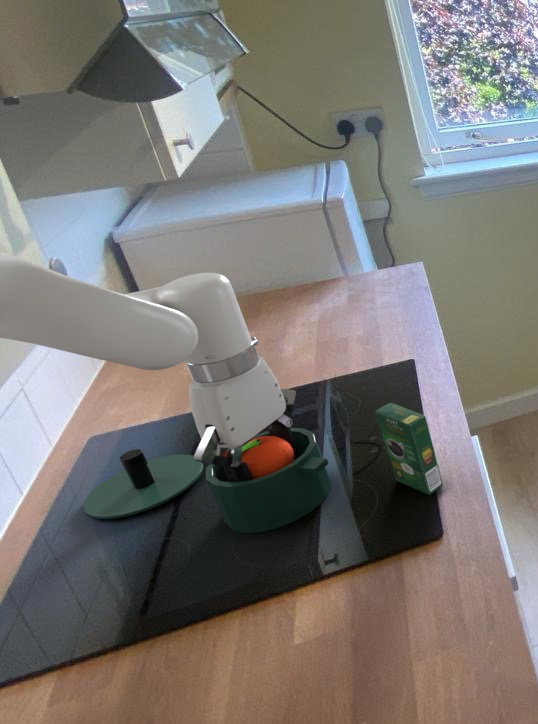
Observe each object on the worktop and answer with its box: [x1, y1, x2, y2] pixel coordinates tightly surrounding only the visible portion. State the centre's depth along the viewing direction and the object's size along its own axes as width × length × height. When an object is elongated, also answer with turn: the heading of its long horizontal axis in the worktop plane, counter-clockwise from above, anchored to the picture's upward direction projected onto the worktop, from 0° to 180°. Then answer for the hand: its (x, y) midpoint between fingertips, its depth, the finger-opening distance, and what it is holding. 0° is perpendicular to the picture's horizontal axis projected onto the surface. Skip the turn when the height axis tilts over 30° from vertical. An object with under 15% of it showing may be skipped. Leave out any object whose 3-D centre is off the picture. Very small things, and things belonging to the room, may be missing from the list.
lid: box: [83, 448, 204, 520], centre depth 111 cm, size 14×14×7 cm
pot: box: [202, 427, 332, 534], centre depth 108 cm, size 13×19×8 cm
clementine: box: [241, 436, 294, 480], centre depth 106 cm, size 8×7×7 cm
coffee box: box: [374, 402, 444, 496], centre depth 109 cm, size 8×3×13 cm, turn 63°
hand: (265, 466), depth 107 cm, fingers closed on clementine, 7 cm apart
